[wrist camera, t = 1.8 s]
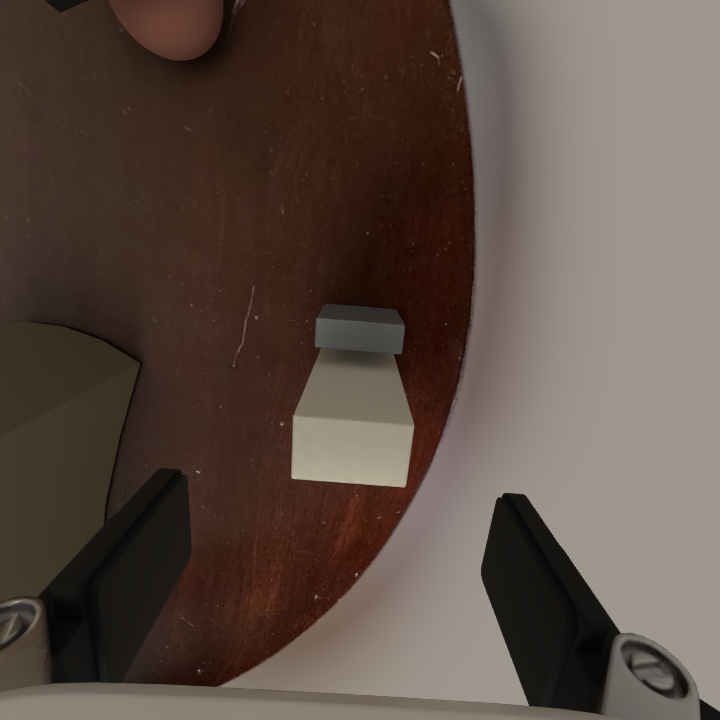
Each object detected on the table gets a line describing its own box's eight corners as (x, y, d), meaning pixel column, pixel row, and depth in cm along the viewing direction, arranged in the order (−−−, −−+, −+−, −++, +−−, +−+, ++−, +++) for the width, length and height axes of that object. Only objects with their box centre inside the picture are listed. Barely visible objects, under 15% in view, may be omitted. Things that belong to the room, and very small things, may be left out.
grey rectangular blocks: (325, 303, 23) (315, 317, 19) (396, 309, 24) (405, 325, 19) (319, 416, 26) (309, 454, 21) (383, 421, 26) (388, 460, 21)
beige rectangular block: (323, 342, 24) (292, 415, 14) (392, 348, 24) (414, 425, 14) (320, 381, 25) (290, 479, 15) (387, 387, 25) (405, 488, 15)
